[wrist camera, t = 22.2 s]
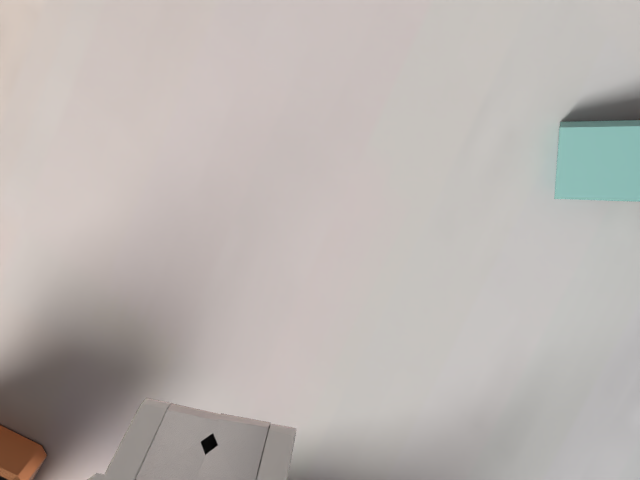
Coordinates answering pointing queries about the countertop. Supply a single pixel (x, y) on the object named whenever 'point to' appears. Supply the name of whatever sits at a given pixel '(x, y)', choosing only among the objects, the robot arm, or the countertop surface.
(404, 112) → the countertop surface
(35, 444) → the whiskey bottle
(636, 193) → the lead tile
